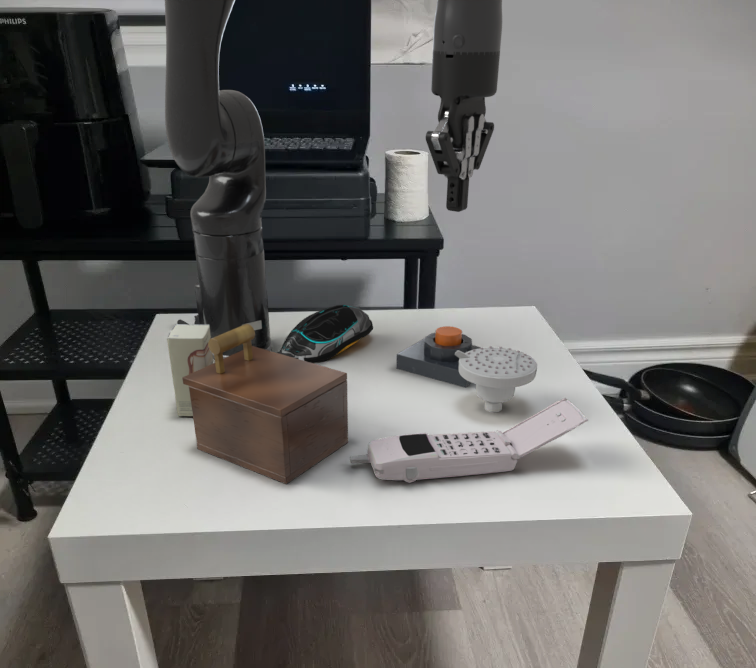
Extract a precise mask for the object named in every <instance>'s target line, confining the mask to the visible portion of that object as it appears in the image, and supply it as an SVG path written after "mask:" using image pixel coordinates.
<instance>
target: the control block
mask: <svg viewBox="0 0 756 668" xmlns="http://www.w3.org/2000/svg"><path fill="white" fill-rule="evenodd" d="M435 333H436V332H431V333H430V334H428V335H426V336H425V337H423V338H422V339H421V340H419V341H416V342H415V343H413V344H411V345H410V346H409V347H406V348H404V349H403V350H401V351H399V352H398V353H397V354H396V365H395V366H396V367H395V368H396V369H397V370H400V371H403V372H408V373H411V374H414V375H418V376H422V377H426V378H428V379H432V380H437V381H440V382H443V383H446V384H450V385H454V386H457V387H461V388H465V389H466V388H468V387H469V386H470V385H472V384H473V383H472V382H469V381H467V380H466V379H464V378H463V377H462V376H461V375H460V373H459V359H460V358H458V357H457V356H456V355H455V352H457V351H458V350H459V351H461V352H463V353H466V352H468V351H471V350H473V349H479V348H481V347H482V346H478V345H473V339H472V338H471V337H470V336H468V335H466V334H464V333H462V340H461V344H460V345H456V346H442V345H438V344H436V343H435Z"/></svg>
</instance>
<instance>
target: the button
mask: <svg viewBox="0 0 756 668" xmlns="http://www.w3.org/2000/svg"><path fill="white" fill-rule="evenodd" d="M434 333H435V343H436V344H438V345H442V346H456V345H460V344H461V340H462V334H463V331H462V329H460V328H459V327H457V326H450V325H445V326H440V327H437V328H436V329H435V332H434Z"/></svg>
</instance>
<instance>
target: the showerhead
mask: <svg viewBox="0 0 756 668" xmlns="http://www.w3.org/2000/svg"><path fill="white" fill-rule="evenodd" d="M480 347H481V348H479V349H473V350H471V351H468V352H466V353H463V352H461V351H459V350H458V351H457V352H455V355H456V356H457V357H458V358H460V359H459V373H460V375H461V376H462V377H463V378H464V379H466V380H467V381H469V382H472V384H473V385H475V390H474V393H475V395H476V396H477V398H479V399H481V400H483V401H484V410H485V411H487V412H489V413H499V412H501V411H502V410H503V403H505V402H509V401H510V400H512V399H513V398H514V397H515V393H516V388H518V387H519V388H520V387H523V386H525V385H529V384H530V383H532V382H533V381H535V378H536V376H537V370H538V362H537V361H536V360H535V358H533V357H532V356H530V355H529V354H527V353H525V352H522V351H520V350H516V349H512V348H511V347H508V348H506V347H502V346H498V347H496V346H495V347H494V346H489V347H483V346H480Z"/></svg>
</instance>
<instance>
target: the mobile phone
mask: <svg viewBox="0 0 756 668" xmlns="http://www.w3.org/2000/svg"><path fill="white" fill-rule="evenodd" d="M586 422H589V419H588V418H587V417H586V416H585V414H584V413H583V412H582V411H581V409H579V407H577V406H576V405H575V404H574V403H572V402H571V401H570V400H569V399H568V398H566V397H564V398H562V399H560V400H557V401H555V402H553V403H551V404H549V405H547V407H545V408H544V409H542V410H540V411H538V412H536V413H535V414H533V415H531V416H530V417H528V418H526V419H524V420H522V421H521V422H519V423H517V424H516V425H514V426H512V427H510V428H508V429H507V430H505V431H503V432H502V430H498V429H497V430H494V431H493V430H492V431H475V432H458V433H457V432H453V433H437V434H436V433H433V434H428V433H426V432H421V433H407V434H406V433H405V434H399V435H393V436H392V435H391V436H386V437H381V438H376V439H373V440H370V441H369V442H368V445H367V453H366V454H360V455H353V456H352V455H351V456H349V462H350V463H349V464H371V467H372V470H373V473H374V475H375V478H376V479H379V480H387V481H404V482H406V483H409V484H410V483H413V482H416V480H417V481H420V480H421V481H422V480H431V479H443V478H455V477H464V476H475V475H485V474H495V473H504V472H512V471H514V469H515V468H516V466H517V463H518V460H519V459H522V458H523V457H525V456H527V455H528V454H530V453H533V452H534V451H536V450H538V449H540V448H542V447H543V446H546V445H547V444H549V443H551V442H553V441H555V440H557V439H559V438H561V437H562V436H564V435H566V434H567V433H569V432H571V431H573V430H575V429H577V428H578V427H580V426H581V425H583V424H585V423H586Z"/></svg>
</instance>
